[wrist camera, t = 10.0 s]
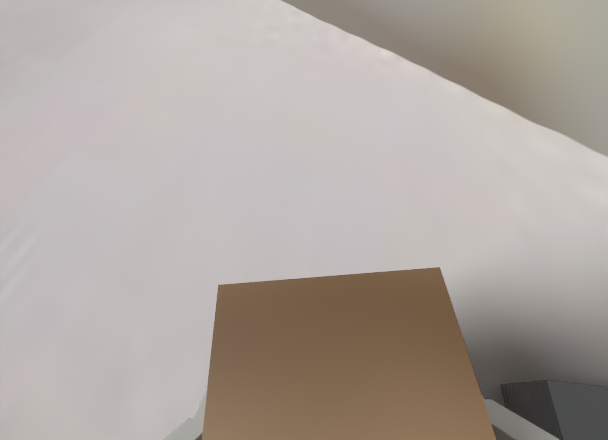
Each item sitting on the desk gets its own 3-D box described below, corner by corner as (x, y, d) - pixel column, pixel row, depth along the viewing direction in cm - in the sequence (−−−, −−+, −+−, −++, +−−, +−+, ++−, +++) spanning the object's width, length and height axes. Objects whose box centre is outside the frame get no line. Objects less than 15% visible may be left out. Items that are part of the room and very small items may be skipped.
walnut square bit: (381, 455, 13) (557, 623, 3) (293, 460, 13) (180, 639, 3) (366, 357, 15) (439, 267, 5) (290, 363, 15) (218, 285, 5)
